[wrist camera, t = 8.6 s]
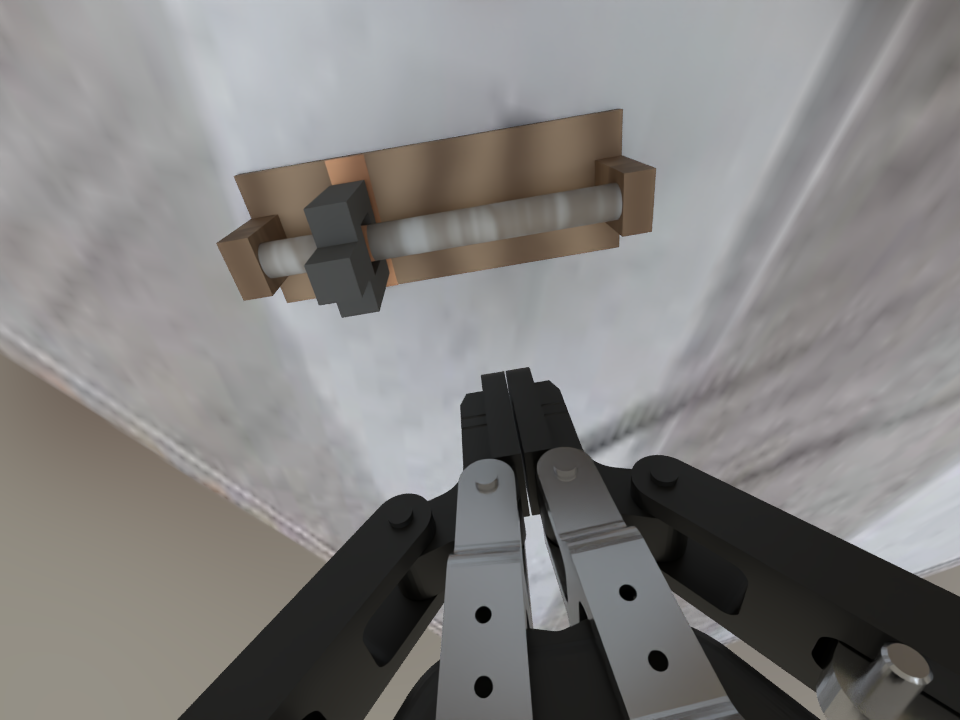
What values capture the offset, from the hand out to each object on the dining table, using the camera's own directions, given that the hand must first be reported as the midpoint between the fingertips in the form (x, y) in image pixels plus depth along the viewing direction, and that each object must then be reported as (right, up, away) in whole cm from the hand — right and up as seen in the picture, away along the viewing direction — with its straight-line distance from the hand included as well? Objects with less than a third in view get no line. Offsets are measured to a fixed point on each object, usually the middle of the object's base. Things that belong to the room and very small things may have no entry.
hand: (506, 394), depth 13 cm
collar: (-10, +11, +19) cm, 24 cm away
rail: (-4, +13, +21) cm, 25 cm away
